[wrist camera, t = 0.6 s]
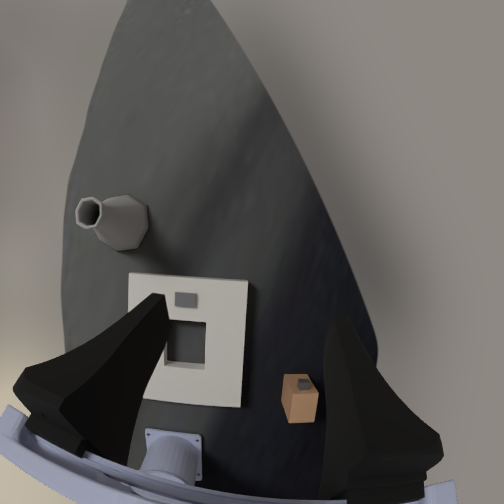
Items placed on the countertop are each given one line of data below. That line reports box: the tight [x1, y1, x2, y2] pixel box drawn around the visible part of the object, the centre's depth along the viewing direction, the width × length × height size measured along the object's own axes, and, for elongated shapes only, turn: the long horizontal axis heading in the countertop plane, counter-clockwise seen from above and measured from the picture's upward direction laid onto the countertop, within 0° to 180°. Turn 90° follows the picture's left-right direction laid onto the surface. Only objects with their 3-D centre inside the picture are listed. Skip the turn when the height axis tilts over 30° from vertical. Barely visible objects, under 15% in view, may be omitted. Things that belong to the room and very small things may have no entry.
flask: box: [76, 194, 149, 251], centre depth 31 cm, size 7×7×10 cm
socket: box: [128, 272, 248, 407], centre depth 35 cm, size 16×14×2 cm
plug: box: [281, 374, 319, 423], centre depth 34 cm, size 5×3×6 cm, turn 176°
